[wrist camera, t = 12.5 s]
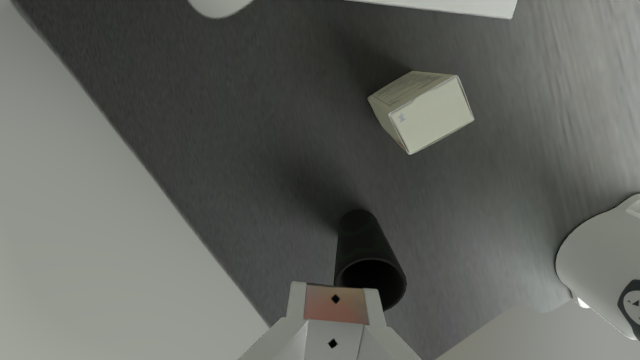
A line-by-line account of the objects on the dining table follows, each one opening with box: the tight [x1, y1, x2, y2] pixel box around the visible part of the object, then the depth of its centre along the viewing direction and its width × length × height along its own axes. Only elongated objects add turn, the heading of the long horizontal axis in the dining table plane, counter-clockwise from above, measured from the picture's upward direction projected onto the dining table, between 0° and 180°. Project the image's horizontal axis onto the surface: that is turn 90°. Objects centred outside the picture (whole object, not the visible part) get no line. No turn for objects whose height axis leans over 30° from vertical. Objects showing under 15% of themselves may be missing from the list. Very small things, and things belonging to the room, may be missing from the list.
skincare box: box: [367, 71, 474, 155], centre depth 31 cm, size 6×4×12 cm
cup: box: [334, 210, 407, 312], centre depth 38 cm, size 8×8×12 cm
